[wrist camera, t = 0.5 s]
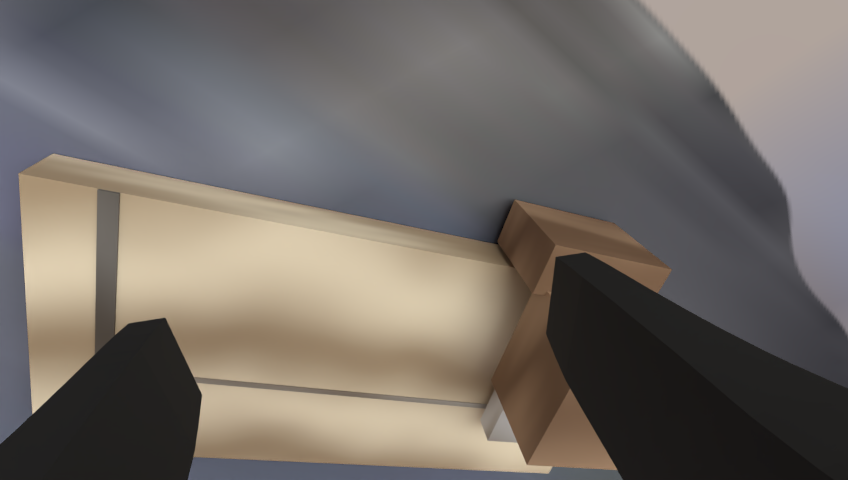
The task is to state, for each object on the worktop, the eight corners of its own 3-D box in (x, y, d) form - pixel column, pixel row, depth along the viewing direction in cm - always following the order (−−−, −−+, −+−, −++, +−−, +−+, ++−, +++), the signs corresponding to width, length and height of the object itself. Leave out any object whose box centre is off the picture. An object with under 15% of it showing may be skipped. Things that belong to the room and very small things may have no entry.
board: (534, 442, 27) (549, 475, 26) (59, 410, 20) (32, 451, 19) (630, 271, 23) (656, 295, 21) (53, 153, 16) (16, 174, 14)
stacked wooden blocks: (525, 394, 25) (592, 529, 18) (438, 385, 23) (478, 529, 17) (613, 223, 21) (738, 322, 14) (514, 199, 19) (604, 299, 13)
